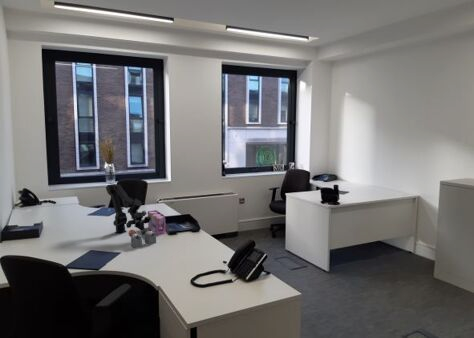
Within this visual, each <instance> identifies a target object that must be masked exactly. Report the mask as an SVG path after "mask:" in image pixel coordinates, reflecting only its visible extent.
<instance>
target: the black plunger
mask: <svg viewBox="0 0 474 338" xmlns="http://www.w3.org/2000/svg"><path fill="white" fill-rule="evenodd" d="M140 231H141V232H140V234H141V235H142V236H145V233H149V234H151V236H152V235H153V231H152V232H150V230H149V228H145V227H144V228H143V229H142V230H140Z"/></svg>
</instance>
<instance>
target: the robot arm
mask: <svg viewBox="0 0 474 338" xmlns="http://www.w3.org/2000/svg"><path fill="white" fill-rule="evenodd" d="M105 189H106V192H107V194H108V195H109V196H110V198H111V201H112V204H113V209H114V211H115V215H114V220H113V226H115V232H114V234H121V235H122V234H124V233H126V232H127V230H126V228H127V229H129V228H131V227H132V225H134V228H136V229H139V230H140V231H142V229H143V228H145V224H148V222H149V221H150V220H151V217H150V216H148V215H147V211H146V210H142V211H141V212H139V209H140V208H141V206H142V205H143V203H142V201H141V200H139V199H137V198H135V199H133V198H132V197H130V196H128V194H127V193H126V191H125V190H124V189H123V187H122V185H121V184H116V183H113V184H107V186H106V187H105ZM119 197H120V199H119ZM120 200H121V201H122V205H123V207H124V209H127V214H129V215H130V217H131V218H130V219H131V220H128V217H127V214H126V212H124V211H123V209H122V206H121V203H120ZM146 215H147V216H146Z"/></svg>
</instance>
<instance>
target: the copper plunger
mask: <svg viewBox="0 0 474 338" xmlns="http://www.w3.org/2000/svg"><path fill="white" fill-rule="evenodd" d="M127 235H128V236H129V237H130V238H131V236H132V235H133V236H134V237H135V238H137V237H138V234H137V232H136V230H134V229H130V230H129V231H128V233H127Z"/></svg>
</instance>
